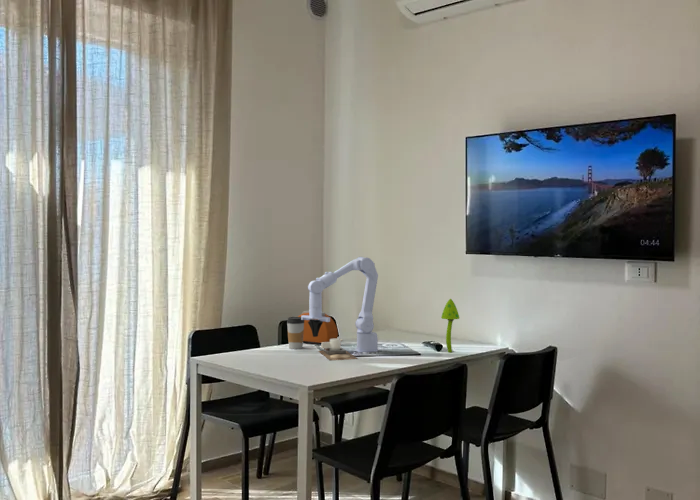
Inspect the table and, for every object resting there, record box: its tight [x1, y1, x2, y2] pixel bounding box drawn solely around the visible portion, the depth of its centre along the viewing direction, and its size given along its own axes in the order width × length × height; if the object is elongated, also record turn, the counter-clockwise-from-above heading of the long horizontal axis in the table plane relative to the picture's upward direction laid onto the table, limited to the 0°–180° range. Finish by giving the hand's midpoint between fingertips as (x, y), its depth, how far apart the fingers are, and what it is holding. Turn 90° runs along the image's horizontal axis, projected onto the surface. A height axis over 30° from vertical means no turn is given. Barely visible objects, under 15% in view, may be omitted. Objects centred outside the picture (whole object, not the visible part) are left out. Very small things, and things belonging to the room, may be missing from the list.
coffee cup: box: [286, 316, 304, 350], centre depth 332 cm, size 8×8×15 cm
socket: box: [323, 347, 347, 355], centre depth 319 cm, size 8×8×2 cm
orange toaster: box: [297, 309, 339, 344], centre depth 349 cm, size 23×9×17 cm, turn 59°
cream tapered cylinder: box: [320, 337, 343, 351], centre depth 319 cm, size 9×5×6 cm, turn 105°
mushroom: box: [440, 298, 460, 353], centre depth 324 cm, size 8×8×25 cm
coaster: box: [330, 354, 350, 359], centre depth 310 cm, size 9×9×1 cm
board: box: [317, 349, 359, 361], centre depth 315 cm, size 13×24×1 cm, turn 15°
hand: (315, 336), depth 319 cm, fingers closed
